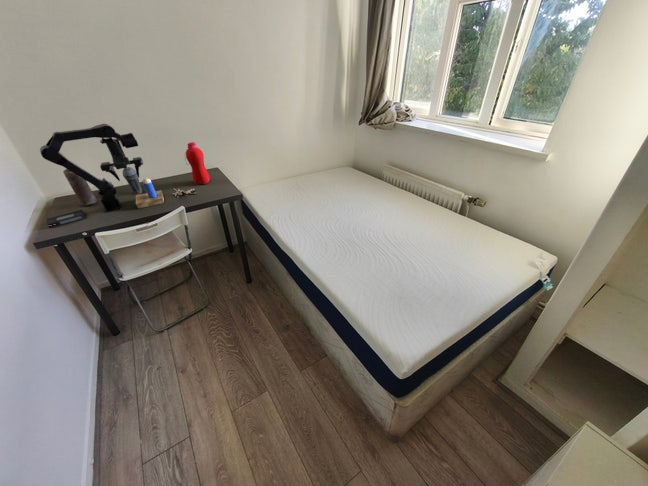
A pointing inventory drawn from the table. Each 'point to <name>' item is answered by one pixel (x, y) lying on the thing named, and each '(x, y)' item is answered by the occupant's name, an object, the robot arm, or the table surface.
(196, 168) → the water bottle
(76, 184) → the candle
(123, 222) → the table surface
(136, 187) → the beverage cup
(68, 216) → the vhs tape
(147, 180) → the white topped blue rod
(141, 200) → the holder
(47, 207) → the table surface
